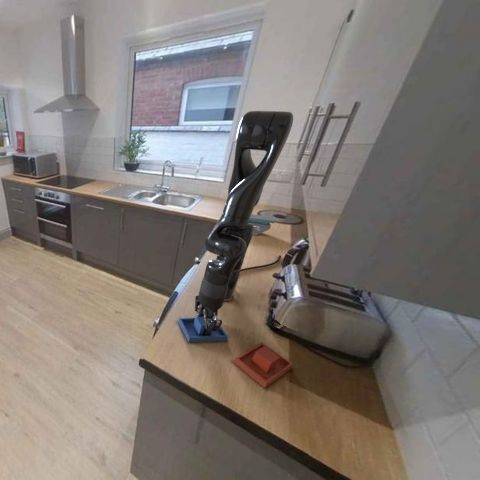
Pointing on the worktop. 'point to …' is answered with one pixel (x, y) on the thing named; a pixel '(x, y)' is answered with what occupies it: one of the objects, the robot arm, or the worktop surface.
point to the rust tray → (256, 372)
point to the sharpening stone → (260, 223)
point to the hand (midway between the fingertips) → (202, 329)
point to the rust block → (265, 359)
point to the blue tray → (192, 335)
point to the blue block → (200, 325)
